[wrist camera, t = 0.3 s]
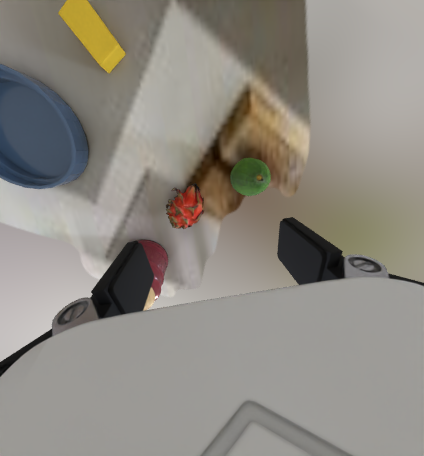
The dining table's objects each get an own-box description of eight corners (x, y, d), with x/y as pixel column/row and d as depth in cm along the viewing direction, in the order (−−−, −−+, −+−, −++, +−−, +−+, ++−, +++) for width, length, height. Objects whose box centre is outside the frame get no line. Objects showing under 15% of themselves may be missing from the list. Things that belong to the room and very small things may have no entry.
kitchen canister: (164, 236, 44) (147, 284, 28) (171, 271, 50) (160, 327, 34) (117, 240, 43) (72, 291, 28) (130, 275, 49) (99, 334, 33)
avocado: (260, 157, 37) (287, 159, 26) (256, 190, 41) (277, 204, 30) (227, 156, 36) (241, 159, 26) (226, 190, 40) (236, 204, 29)
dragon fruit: (174, 220, 44) (192, 181, 41) (197, 236, 41) (218, 195, 39) (151, 219, 36) (173, 171, 33) (178, 239, 33) (204, 188, 31)
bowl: (-56, 79, 27) (-100, 66, 23) (58, 66, 27) (34, 51, 23) (20, 189, 35) (-2, 195, 31) (105, 178, 36) (93, 181, 32)
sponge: (72, 27, 25) (57, 12, 23) (89, 3, 25) (76, -15, 22) (109, 73, 28) (100, 65, 26) (126, 54, 27) (118, 43, 25)
